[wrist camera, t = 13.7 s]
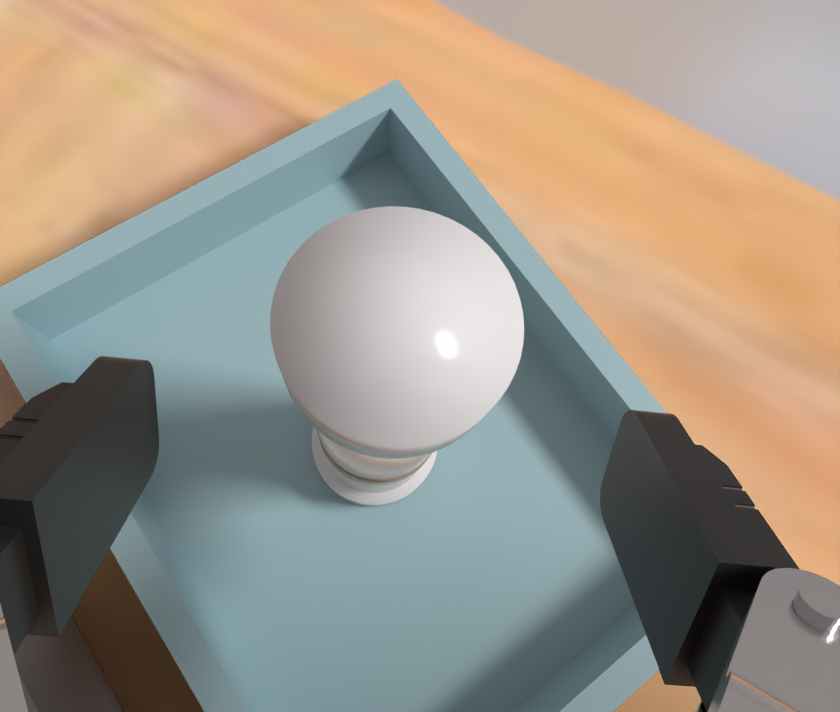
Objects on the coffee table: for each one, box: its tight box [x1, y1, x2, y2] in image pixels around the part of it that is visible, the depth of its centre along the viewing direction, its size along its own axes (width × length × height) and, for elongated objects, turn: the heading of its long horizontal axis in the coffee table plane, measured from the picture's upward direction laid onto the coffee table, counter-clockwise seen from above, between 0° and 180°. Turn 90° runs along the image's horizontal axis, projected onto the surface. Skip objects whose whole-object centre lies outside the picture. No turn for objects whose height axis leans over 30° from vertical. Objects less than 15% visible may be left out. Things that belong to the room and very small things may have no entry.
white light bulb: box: [270, 206, 524, 507], centre depth 14 cm, size 4×4×11 cm
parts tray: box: [0, 79, 666, 712], centre depth 19 cm, size 14×18×3 cm
